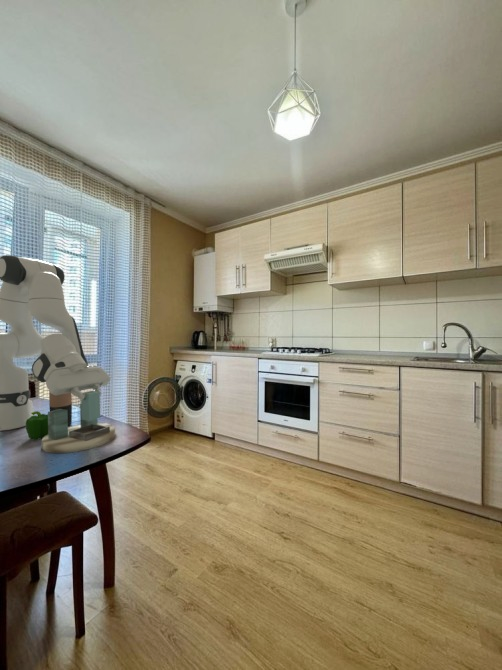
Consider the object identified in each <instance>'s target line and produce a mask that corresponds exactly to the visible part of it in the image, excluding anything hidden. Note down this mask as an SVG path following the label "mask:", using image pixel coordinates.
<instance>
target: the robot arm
mask: <svg viewBox="0 0 502 670" xmlns="http://www.w3.org/2000/svg"><path fill="white" fill-rule="evenodd" d="M62 268H63V267H60V266H59V265H56V264H54V263H51V262H46V261H43V260H40V259H36V258H29V257H21V256H20V257H19V256H16V255H9V254H6V255H1V256H0V281H2V284H1V287H0V321H1V322H3V323H5V324H7V325H9V326H10V332H0V432H1V431H9V430H14V429H18V428H23V427H26V421H27V419H29V418H30V417H31V416H35V414H34V415H32V414H31V413H32V412H35V411H34V405H33V404H34V403H33V401H32V400H30V398H31V389H29V386H30V385H29V373H28V371H27V370H26V369H25V368H23V367H20V366H17V365H16V364H15V362H14V359H23V358H31V357H35V356H36V357H37V356H38V355H39V356H38V358H36V360H34V362H33V363H32V366H31V372H32V374H33V376H34V378H35V379H36V380H37V381H38V382H41V383H45V385H46V387H47V389H48V392H49V391H50V393H51V394H53V395H61V394H66V393H72V396H74V397H77V398H78V399H79V401H80V402H81V401H82V400H85V399H86V398H87V396H86V394H85V392H81V391H86V390H91V389H92V391H97V392H100V396H101V395H102V392H101V390H100V389H101V388H100V387H106V386H107V385H108V384H109V383H110V381H111V377H110V375H109V374H108V372H106V371H105V370H104V369H103V368H102V367H100V366H97V365H89V363H88V360H87V357H86V355H85V353H84V350H83V345H82V341H81V337H80V334H79V333H80V332H79V328H78V326H77V323H76V319H75V318H74V317H73V316H72V315H70V312H68V309H67V307H66V304H65V296H64V295H65V294H64V289H63V284H64V282H65V278H66V277H65V273H64V270H63V269H62ZM33 319H34V320H36V321H37V322H38V323H40V324H42V325H45V326H48V327H51V328H53V329H55V330H56V331H58V332H59V333H52V334H48V335H46V336H45V337H44V336H43V335H42V334H40V333H39V331H37V329H36V328H35V326H34V323H33Z"/></svg>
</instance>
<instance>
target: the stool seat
mask: <svg viewBox="0 0 502 670" xmlns="http://www.w3.org/2000/svg"><path fill="white" fill-rule="evenodd" d="M79 406H80V407H79V409H80V410H79V411H80V416H79V417H80V424H77V425H72V426H71V425H70V426H68V414H67V410H64V409H58V410H53V411H50V410H49V411H47V415H48V435H46V436H45V437H43V438H41V450H42V451H43V452H45V453H49V454H68V453H69V454H70V453H77V452H81V451H86V450H87V451H88V450H89V449H93V448H96V447H97V448H98V447H99V446H100V447H101V446H102V445H104V444H106V443H109V442H110V441H112V440H113V439H114V438H115V437H116V427H115V425H113V424H112V423H111V424H110V423H105V422H98V421H99V420H98V419H99V418H97V419H93V420H90V421H88V420H82V419H81V403H80V404H79Z"/></svg>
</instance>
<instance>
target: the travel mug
mask: <svg viewBox="0 0 502 670" xmlns="http://www.w3.org/2000/svg"><path fill="white" fill-rule="evenodd" d="M48 393H49V397H48V398H49V403H48V405H49V411H53V410H58V409H64V410H67V414H68V427H71V425H72V419H73V418H72V417H73V416H72V412H73V400H72V399H73V398H72V397H73V394H72V393H66V394H61V395H53V394H51V393H50V391H49V390H48Z"/></svg>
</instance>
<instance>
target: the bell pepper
mask: <svg viewBox="0 0 502 670" xmlns="http://www.w3.org/2000/svg"><path fill="white" fill-rule="evenodd" d="M31 414H32V415H34V416H31V417H30V418H29V419H27V421H26V426H25V430H26V434H27V436H28V438H29V439H30V440H32V441H37V440H40V439H41V440H42V439H43V437H45V436H46V435H48V414H46V413H41V412H40V411H38V410H37V411H34V412H32V413H31Z"/></svg>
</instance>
